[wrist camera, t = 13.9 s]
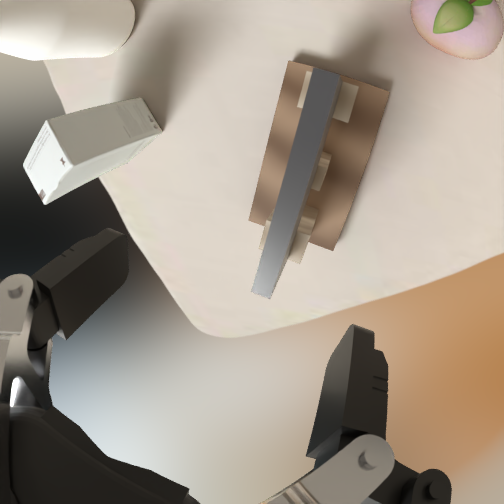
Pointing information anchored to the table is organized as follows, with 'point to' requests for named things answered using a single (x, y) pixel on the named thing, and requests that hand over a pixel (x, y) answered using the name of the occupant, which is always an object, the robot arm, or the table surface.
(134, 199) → the table surface
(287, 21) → the table surface
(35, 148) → the skincare box
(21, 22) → the wine bottle
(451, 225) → the table surface
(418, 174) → the table surface
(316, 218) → the wooden peg rack
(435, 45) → the decorative fruit
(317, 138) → the dark flat rectangular bar
